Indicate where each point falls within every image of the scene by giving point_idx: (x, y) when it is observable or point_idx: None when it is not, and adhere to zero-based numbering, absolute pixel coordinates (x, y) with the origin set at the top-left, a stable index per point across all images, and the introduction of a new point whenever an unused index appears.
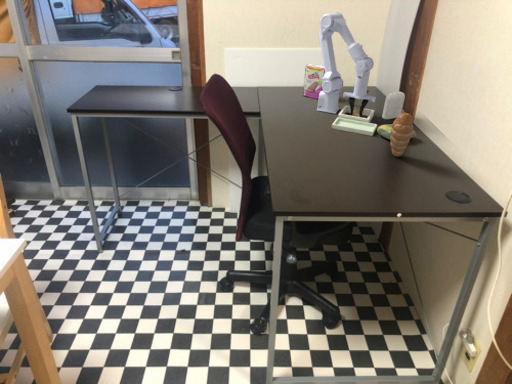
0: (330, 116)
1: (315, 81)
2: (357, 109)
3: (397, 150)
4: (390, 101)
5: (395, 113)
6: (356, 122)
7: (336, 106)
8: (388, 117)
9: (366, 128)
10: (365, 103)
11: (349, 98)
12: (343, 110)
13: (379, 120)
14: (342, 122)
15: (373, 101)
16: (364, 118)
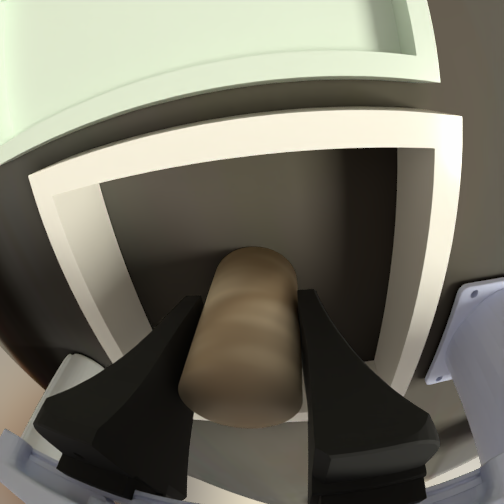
0: (492, 198)
1: None
2: (217, 336)
3: None
4: None
5: None
6: (153, 80)
7: (471, 358)
8: (62, 362)
9: (43, 54)
10: (43, 408)
11: (412, 482)
12: (418, 302)
13: (89, 326)
14: (335, 22)
15: (6, 437)
16: (68, 173)
